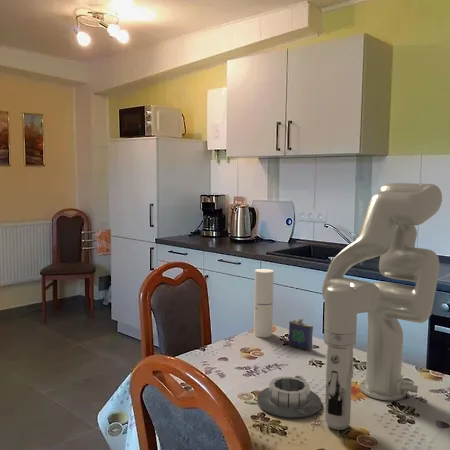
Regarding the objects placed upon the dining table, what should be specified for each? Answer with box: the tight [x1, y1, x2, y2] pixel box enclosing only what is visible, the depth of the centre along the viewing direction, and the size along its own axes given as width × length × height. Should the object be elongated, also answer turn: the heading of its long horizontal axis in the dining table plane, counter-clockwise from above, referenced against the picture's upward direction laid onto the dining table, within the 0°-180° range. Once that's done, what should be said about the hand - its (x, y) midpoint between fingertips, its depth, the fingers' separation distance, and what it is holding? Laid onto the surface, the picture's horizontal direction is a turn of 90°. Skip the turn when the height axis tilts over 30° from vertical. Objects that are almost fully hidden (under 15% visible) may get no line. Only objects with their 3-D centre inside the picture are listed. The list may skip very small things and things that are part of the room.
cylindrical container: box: [253, 268, 275, 338], centre depth 185 cm, size 7×7×25 cm
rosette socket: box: [256, 376, 322, 420], centre depth 129 cm, size 17×17×5 cm
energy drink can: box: [324, 372, 353, 430], centre depth 117 cm, size 6×6×15 cm
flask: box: [288, 318, 314, 352], centre depth 172 cm, size 9×3×11 cm, turn 52°
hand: (337, 407), depth 117 cm, fingers closed on energy drink can, 6 cm apart
